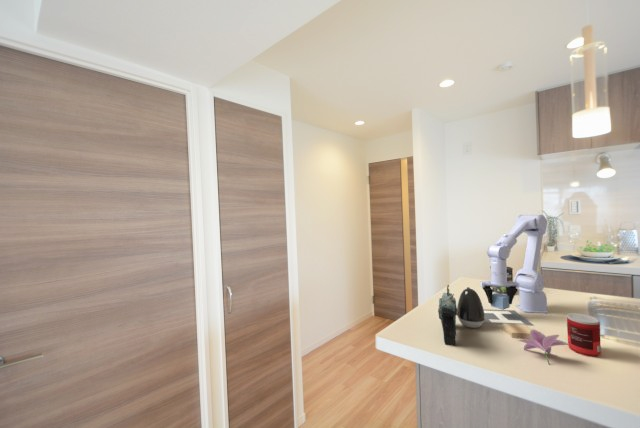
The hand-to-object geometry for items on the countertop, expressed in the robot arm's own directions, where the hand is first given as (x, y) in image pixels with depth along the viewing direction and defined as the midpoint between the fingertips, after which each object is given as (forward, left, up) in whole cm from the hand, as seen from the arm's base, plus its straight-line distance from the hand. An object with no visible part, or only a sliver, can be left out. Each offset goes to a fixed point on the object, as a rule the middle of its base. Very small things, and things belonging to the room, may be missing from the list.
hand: (499, 303), depth 115 cm
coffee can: (-15, -35, -6) cm, 39 cm away
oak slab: (0, +16, -6) cm, 17 cm away
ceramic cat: (+26, +20, -6) cm, 33 cm away
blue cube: (0, 0, -1) cm, 1 cm away
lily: (+1, +32, -6) cm, 33 cm away
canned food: (-14, +26, -6) cm, 30 cm away
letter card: (0, 0, -6) cm, 6 cm away
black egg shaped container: (+15, +10, -6) cm, 19 cm away
